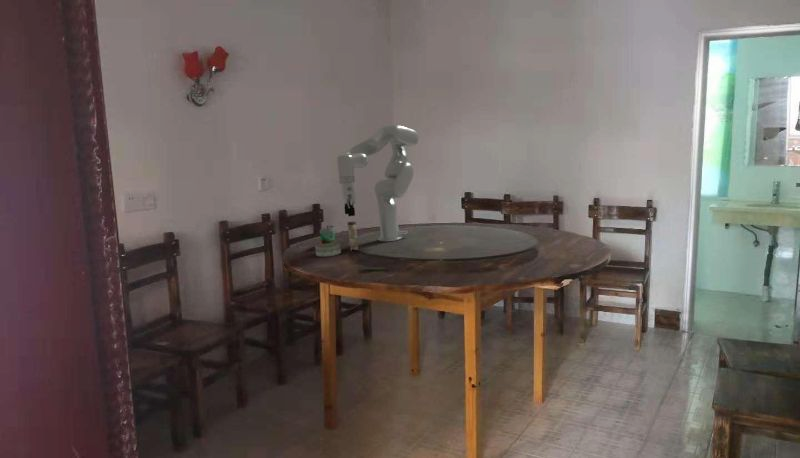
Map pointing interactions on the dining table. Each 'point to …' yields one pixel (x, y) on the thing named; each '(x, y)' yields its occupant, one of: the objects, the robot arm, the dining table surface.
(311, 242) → the dining table surface
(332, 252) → the bead
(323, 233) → the food container
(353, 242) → the peg
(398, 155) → the robot arm
